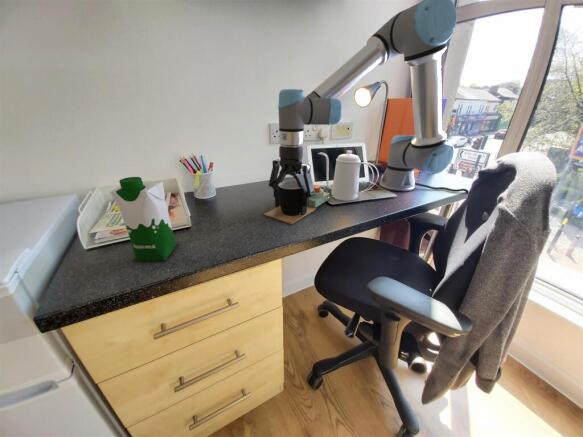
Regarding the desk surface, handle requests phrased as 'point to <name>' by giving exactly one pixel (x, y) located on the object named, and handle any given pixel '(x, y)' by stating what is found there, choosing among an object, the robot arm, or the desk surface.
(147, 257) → the milk carton
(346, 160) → the coffeepot
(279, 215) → the coaster
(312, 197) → the push button box
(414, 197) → the desk surface
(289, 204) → the mug
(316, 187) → the switch
